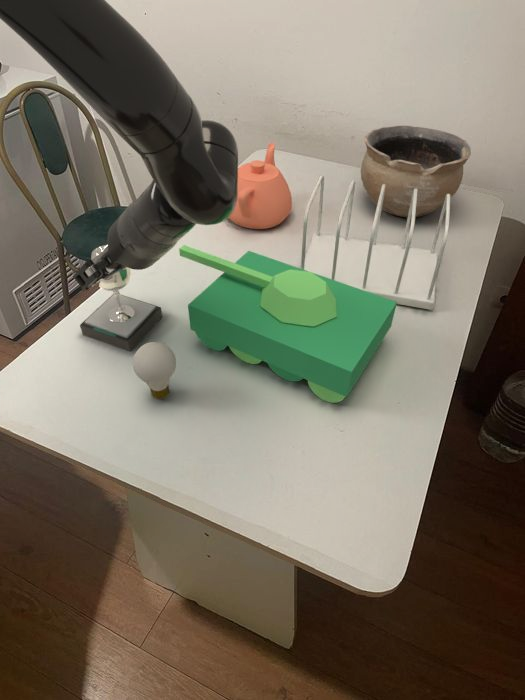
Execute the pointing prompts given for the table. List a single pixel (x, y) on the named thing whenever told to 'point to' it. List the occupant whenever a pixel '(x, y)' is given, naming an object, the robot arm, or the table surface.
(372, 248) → the file sorter
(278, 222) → the teapot
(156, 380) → the light bulb
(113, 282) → the wineglass
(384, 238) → the table surface
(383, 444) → the table surface
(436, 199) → the ceramic bowl
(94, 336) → the kitchen scale
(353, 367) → the toy tank
